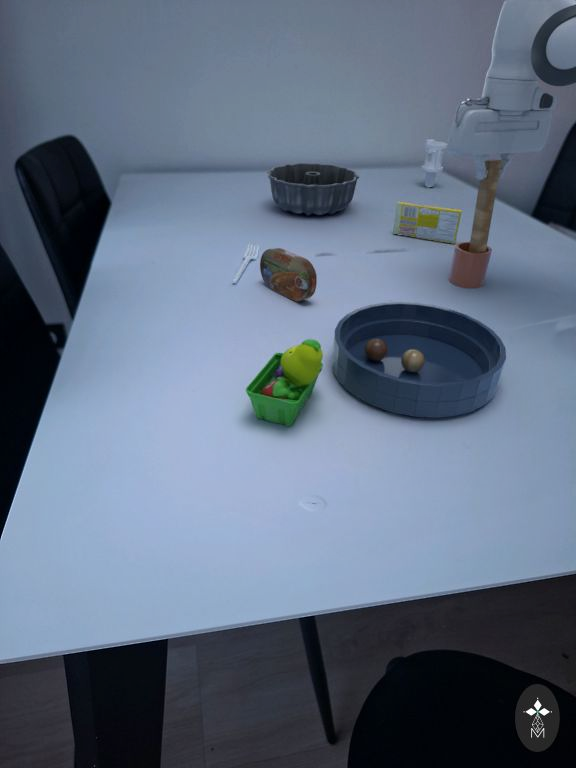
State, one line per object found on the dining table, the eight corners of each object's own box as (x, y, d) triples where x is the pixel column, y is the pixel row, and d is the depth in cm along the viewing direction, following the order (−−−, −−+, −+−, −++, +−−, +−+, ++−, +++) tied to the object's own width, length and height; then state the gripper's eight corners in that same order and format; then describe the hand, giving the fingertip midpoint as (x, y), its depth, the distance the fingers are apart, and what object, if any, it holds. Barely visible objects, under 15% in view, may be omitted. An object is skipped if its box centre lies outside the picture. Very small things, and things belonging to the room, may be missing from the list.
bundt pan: (329, 227, 144) (332, 189, 138) (249, 210, 155) (249, 174, 149) (370, 205, 162) (373, 170, 157) (296, 191, 174) (297, 159, 168)
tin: (258, 283, 112) (258, 244, 107) (270, 279, 114) (270, 241, 109) (306, 308, 103) (308, 266, 98) (318, 303, 104) (320, 262, 100)
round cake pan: (433, 323, 99) (439, 293, 95) (532, 399, 79) (544, 365, 76) (307, 346, 91) (308, 314, 87) (382, 437, 71) (388, 401, 68)
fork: (226, 284, 111) (226, 275, 110) (247, 251, 128) (247, 243, 127) (241, 285, 111) (241, 277, 110) (260, 252, 127) (260, 244, 126)
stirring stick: (477, 252, 110) (493, 158, 102) (485, 254, 109) (501, 160, 100) (468, 253, 110) (482, 159, 101) (475, 256, 108) (491, 160, 99)
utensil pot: (468, 275, 118) (476, 240, 114) (490, 288, 113) (499, 251, 108) (441, 279, 116) (448, 244, 111) (462, 292, 110) (470, 255, 106)
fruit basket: (275, 379, 82) (276, 313, 76) (330, 392, 79) (336, 325, 73) (244, 421, 73) (242, 350, 67) (304, 437, 71) (308, 365, 64)
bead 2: (431, 356, 83) (411, 354, 86) (421, 346, 81) (401, 344, 83) (424, 377, 83) (404, 374, 85) (414, 368, 80) (394, 365, 82)
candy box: (456, 242, 136) (462, 209, 131) (454, 244, 135) (461, 211, 130) (394, 232, 142) (398, 200, 137) (392, 234, 140) (396, 202, 135)
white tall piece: (415, 184, 185) (422, 137, 176) (434, 184, 186) (442, 137, 178) (423, 189, 179) (431, 141, 171) (442, 189, 180) (451, 141, 172)
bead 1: (387, 333, 84) (371, 336, 87) (373, 343, 82) (357, 345, 85) (395, 354, 85) (378, 355, 88) (381, 364, 83) (365, 365, 86)
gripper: (471, 100, 88) (454, 186, 96) (564, 98, 95) (542, 178, 103) (448, 95, 93) (434, 178, 101) (539, 94, 100) (519, 171, 108)
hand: (489, 178), depth 102 cm, fingers closed on stirring stick, 2 cm apart
